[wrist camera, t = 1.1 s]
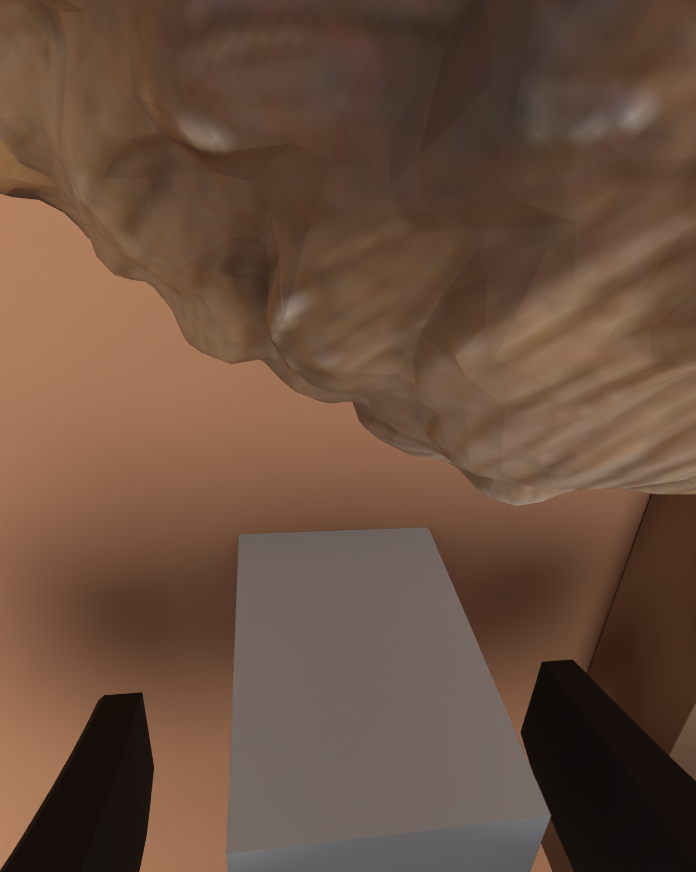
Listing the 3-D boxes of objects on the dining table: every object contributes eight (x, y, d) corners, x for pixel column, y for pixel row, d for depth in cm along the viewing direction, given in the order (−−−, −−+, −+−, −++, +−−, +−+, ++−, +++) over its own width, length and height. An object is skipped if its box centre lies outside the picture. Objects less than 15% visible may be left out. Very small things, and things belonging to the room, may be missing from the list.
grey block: (408, 657, 14) (495, 962, 9) (243, 670, 14) (237, 1003, 9) (427, 526, 13) (551, 815, 7) (239, 534, 12) (225, 854, 7)
